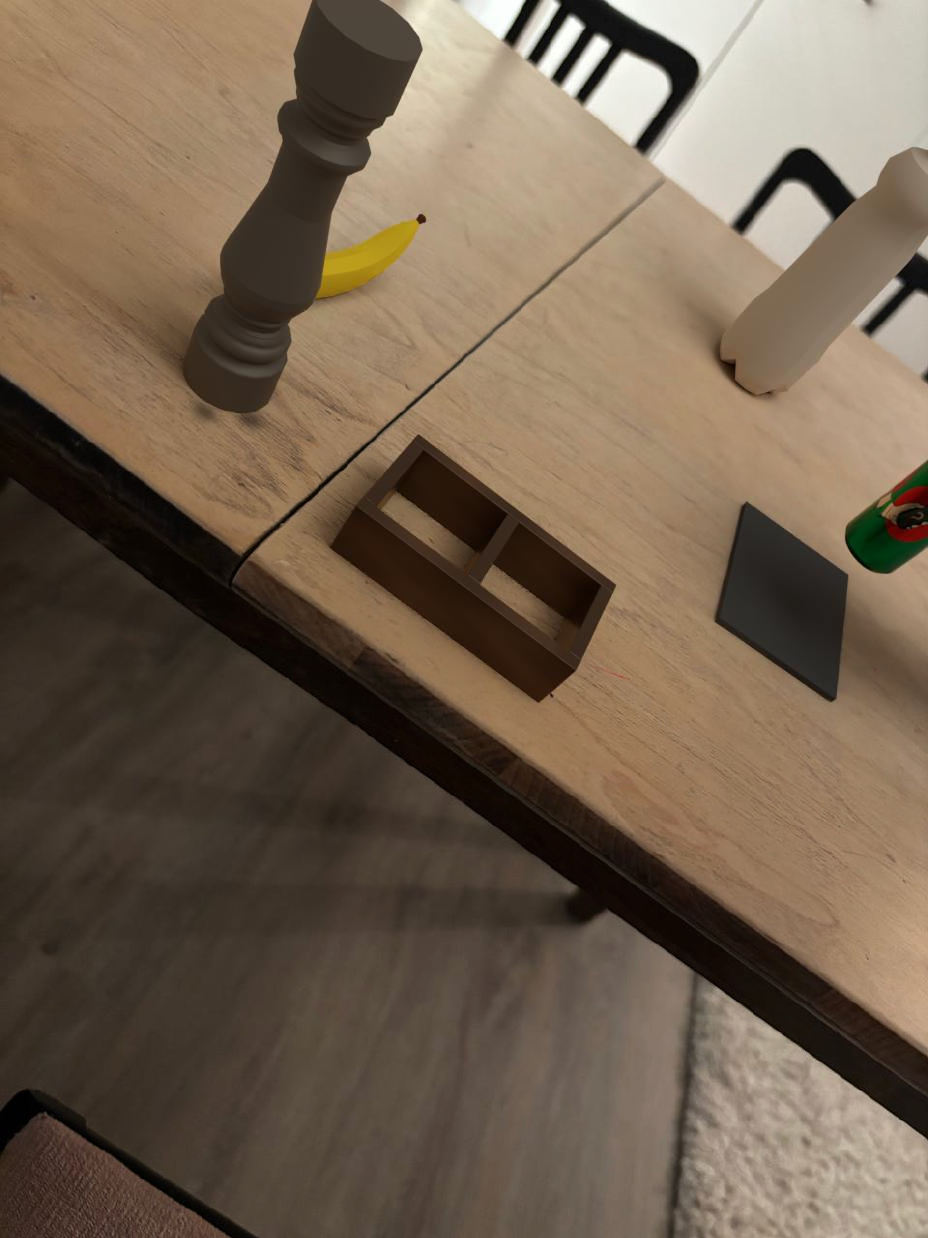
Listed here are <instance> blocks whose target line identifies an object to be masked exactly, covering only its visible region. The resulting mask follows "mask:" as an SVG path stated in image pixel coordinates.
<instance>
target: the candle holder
mask: <svg viewBox="0 0 928 1238" xmlns="http://www.w3.org/2000/svg"><path fill="white" fill-rule="evenodd" d="M423 50H424V48H423V44H422V41H421V38H420V36H419V35H418V33H417V32H416V31H415V29H414V28H413V26H412V25H411V24H410V23H409V22H408V20H406V19H405V18H404V17H403V16H402V15H401V14H400V13H399V12H398V11H396V10H395V9H394V8H393V7H391V6H390V5H388V4H387V3H385V2H384V1H382V0H311V2H310V6H309V8H308V11H307V14H306V17H305V20H304V23H303V25H302V29H301V31H300V34H299V36H298V40H297V43H296V45H295V49H294V52H293V60H294V65H295V66H294V69H293V77H294V82H295V83H294V84H295V96H296V98H293V99H290V100H286V101H284V102H283V103H282V105H281V107H280V108H279V110H278V112H277V116H276V121H277V128H278V132H279V134H280V136H281V140H282V142H281V145H280V147H279V150H278V153H277V156H276V158H275V161H274V164H273V166H272V169H271V172H270V175H269V177H268V180H267V182H266V184H265V185H264V187H263V188H262V189H261V191H260V192H259V194H258V195H257V197H256V198H255V200H254V201H253V202H252V204H251V205H250V206H249V208H248V209H247V211H246V212H245V213H244V215H243V217H242V218H241V219H240V221H239V222H238V224H237V225H236V226H235V228H234V229H233V230H232V232H231V233H230V234H229V236H228V237H227V239H226V241H225V243H224V244H223V246H222V248H221V251H220V254H219V269H220V277H221V281H222V285H223V293H221V294H219V295H217V296H214V297H213V298H211V299H210V300H209V303H208V304H207V306H206V307H205V309H204V312H203V314H201V316H200V317H199V319H198V320H197V322H196V324H195V326H194V328H193V331H192V334H191V336H190V340H189V343H188V346H187V349H186V352H185V354H184V358H183V360H182V368H183V376H184V378H185V380H186V381H187V383H188V385H189V387H190V389H191V390H192V391H193V392H194V393H195V394H197V396H198V397H200V398H201V399H202V400H203V401H204V402H206V403H207V404H211V405H212V406H215V407H216V408H219V409H220V410H223V411H227V412H234V413H238V414H245V413H253V412H257V411H259V410H260V409H262V408H264V407H266V406H267V405H269V402H270V400H271V398H272V396H273V393H274V392H275V389H276V387H277V385H278V382H279V380H280V378H281V376H282V374H283V372H284V370H285V368H286V365H287V363H288V360H289V357H288V351H289V349H290V347H291V345H292V343H293V341H292V333H291V327H290V326H289V324H290V322H291V320H292V319H294V318H296V317H298V316H299V315H302V314H303V313H304V312H306V311H308V310H309V308H310V307H312V305H313V304H314V302H315V300H316V299H317V298H316V295H317V293H318V291H319V289H320V287H321V281H322V274H323V267H324V260H325V254H326V253H327V247H328V241H329V235H330V234H329V233H330V227H331V221H332V215H333V211H334V209H335V207H336V204H337V202H338V200H339V197H340V195H341V193H342V190H343V188H344V186H345V183H346V182H347V179H348V177H349V176H352V175H354V174H355V173H359V172H362V171H363V170H364V169H365V168H366V166H367V164H368V163H369V160H370V158H371V156H372V150H371V145H370V141H369V139H368V137H370V136H371V134H372V133H373V132H374V131H375V130H377V129H379V128H381V127H383V126H384V124H385V122H386V120H387V118H389V117H392V116H394V114H395V112H396V110H397V108H398V106H399V104H400V102H401V100H402V97H403V95H404V94H405V91H406V88H407V86H408V84H409V82H410V80H411V77H412V75H413V73H414V71H415V68H416V66H417V64H418V62H419V59H420V57H421V55H422V53H423Z"/></svg>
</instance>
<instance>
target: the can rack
mask: <svg viewBox="0 0 928 1238" xmlns="http://www.w3.org/2000/svg"><path fill="white" fill-rule="evenodd" d="M396 492H398V493H400V494H401V495H402V496H404V498H406V499H407V500H409V501H410V502H412V503H413V504H414V505H416V506H417V507H418V508H420V509H421V510H422V511H423V512H425V513H426V514H427V515H429V516H430V517H431V518H433V519H434V520H435V521H437V522H438V523H439V524H440V525H442V526H443V527H445V528H446V529H447V530H449V531H450V532H451V533H453V534H454V535H455V536H457V537H458V538H459V539H461V540H462V541H463V542H465V544H467V545H469V546H470V547H471V548H472V549H474V550H475V553H474V554H473V556H472V557H471V559H470V560H469V562H468V563H467V565H466V566H465V568H464V569H463V571H462V569H460V568H458V567H457V566H456V565H454V563H452V562H451V561H449V560H448V559H447V558H445V556H442V555H441V553H439V552H437V551H436V550H435V549H433V548H432V547H431V546H429V544H426V543H425V542H424V541H422V540H421V539H420V538H418V537H417V536H416V535H414V534H413V533H412V532H411V531H409V530H408V529H407V528H405V527H404V526H403V525H401V524H400V523H399V522H397V521H396V520H395V519H393V518H392V517H391V516H389V515H388V514H387V513H385V512H384V511H383V508H384V507H385V506H386V504H387V503H388V502H389V501H390V500H391V498H392V497H393V496H394V495H395V494H396ZM329 548H331V549H332V550H333V551H335V552H336V553H337V554H338V555H340V556H341V557H342V558H344V559H345V560H346V561H348V562H349V563H350V564H352V565H353V566H354V567H356V568H357V569H359V570H360V571H361V572H362V573H364V574H365V575H366V576H368V577H369V578H371V580H373V581H375V583H377V584H379V585H380V586H382V588H384V589H386V590H387V591H388V592H389V593H390V594H392V595H394V596H395V597H396V598H398V599H399V600H400V601H401V602H403V603H404V604H406V605H407V606H408V607H410V608H411V609H412V610H414V611H415V612H416V613H418V614H419V615H421V617H423V618H425V619H426V620H427V621H429V622H430V623H431V624H432V625H434V626H435V627H436V628H438V629H439V630H441V631H442V632H443V633H444V634H446V635H447V636H449V637H450V638H452V639H453V640H454V641H456V642H457V643H458V644H459V645H461V646H462V647H463V648H465V649H466V650H468V651H469V652H470V653H472V654H473V656H476V657H477V658H478V659H480V660H481V661H483V662H484V663H485V664H486V665H488V666H489V667H490V668H492V669H493V670H494V671H496V672H497V673H499V674H500V675H501V676H502V677H504V678H505V679H507V680H508V681H509V682H511V683H512V684H513V685H515V686H516V687H517V688H518V689H520V690H522V691H523V692H524V693H526V694H527V695H528V696H529V697H531V698H532V699H533V700H535V701H536V702H538V703H541V702H542V701H543V700H544V699H546V698H547V697H548V696H549V695H550V694H552V692H553V691H555V690H556V689H557V688H558V687H560V686H561V685H562V684H563V683H565V682H566V680H568V679H569V678H570V677H571V676H572V675H574V674H575V673H576V672H577V670H578V668H579V666H580V664H581V662H582V660H583V657H584V655H585V653H586V651H587V650H588V647H589V644H590V643H591V640H592V639H593V636H594V634H595V632H596V630H597V627H598V626H599V624H600V621H601V619H602V617H603V615H604V612H605V611H606V609H607V606H608V604H609V602H610V600H611V598H612V596H613V594H614V592H615V589H616V587H617V584H616V583H615V582H614V581H612V580H611V579H609V578H608V577H607V576H605V575H604V574H603V573H602V572H600V571H599V570H598V569H596V568H595V567H594V566H592V565H591V564H590V563H588V561H587V560H585V559H583V558H582V557H581V556H580V555H578V554H577V553H576V552H574V551H573V550H571V549H570V548H569V547H568V546H567V545H565V544H564V543H562V542H561V541H560V540H559V539H557V538H556V537H554V536H553V535H552V534H551V533H550V532H548V531H547V530H545V528H543V527H542V526H540V525H539V524H537V523H536V522H535V521H534V520H532V519H531V518H529V516H527V515H526V514H525V513H524V512H522V511H520V510H519V509H518V508H517V507H515V506H514V505H513V504H512V503H510V502H509V501H508V500H506V499H505V498H503V497H502V496H500V494H498V493H497V492H496V491H494V490H493V489H492V488H491V487H489V486H488V485H486V484H485V483H484V482H482V480H480V479H478V477H476V476H475V475H473V474H472V473H471V472H470V471H468V470H467V469H465V468H464V467H463V466H462V465H460V464H459V463H458V462H456V461H455V460H454V459H452V458H451V457H450V456H448V455H447V454H446V453H444V451H442V450H441V449H439V448H438V447H437V446H436V445H434V444H433V443H431V442H430V441H428V439H426V438H425V437H423V435H421V434H419V433H417V435H416V436H415V437H414V438H413V439H412V440H411V442H410V443H409V444H408V445H407V446H406V447H405V448H404V449H403V451H402V452H401V453H400V454H399V455H398V456H397V458H395V460H394V461H393V462H392V463H391V464H390V465H389V467H388V468H387V469H386V470H385V471H384V472H383V473H382V474H381V476H380V477H379V478H378V479H377V480H376V482H375V483H374V484H372V486H371V487H370V488H369V489H368V490H367V492H366V493H365V494H364V495H363V496H362V498H361V499H360V500H359V501H358V502H357V504H356V505H355V506H354V507H353V509H352V510H351V512H350V514H349V516H348V517H347V519H346V520H345V522H344V523H343V525H342V527H341V529H340V530H339V531H338V533H337V534H336V537H334V539H333V541H332V543H331V545H330V546H329ZM493 565H495V566H497V568H499V569H500V570H502V571H503V572H504V573H506V574H507V575H508V576H510V577H511V578H512V579H513V580H515V581H516V582H518V584H520V585H521V586H523V587H524V588H525V589H527V590H528V591H529V592H531V593H532V594H534V596H536V597H537V598H538V599H540V600H542V601H543V602H544V603H545V604H546V605H548V606H549V607H551V608H552V609H553V610H554V611H556V612H557V613H558V614H560V615H561V616H562V617H564V618H565V620H564V621H563V624H562V625H561V628H560V630H559V632H558V634H557V635H556V637H555V639H553V638H551V636H549V635H548V634H546V633H545V632H544V631H543V630H541V629H540V628H539V627H537V626H536V625H534V624H533V623H532V622H530V620H528V619H527V618H525V617H524V616H522V615H521V614H520V613H519V612H517V611H516V610H515V609H513V608H512V607H510V606H509V605H508V604H506V603H505V602H504V601H502V600H501V599H500V598H498V597H497V596H496V595H495V594H493V593H492V592H491V591H489V590H487V588H485V587H484V586H483V585H481V583H482V582H483V580H484V579H485V577H486V576H487V574H488V573H489V571H490V570H491V568H492V567H493Z"/></svg>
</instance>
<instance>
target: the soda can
mask: <svg viewBox="0 0 928 1238" xmlns="http://www.w3.org/2000/svg"><path fill="white" fill-rule="evenodd" d="M844 542H845V545H846V547H847V550H848V551H849V553H850V554H851V556H852V557H853V558H854V559H855V561H856V562H857V563H858V564H859V565H861V566H862V567H863V568H864V569H865V570H868V571H869V572H872V573H874V574H880V575H890V574H893V573H894V572H896V571H897V570H898V569H900V568H901V567H903V566H904V565H906V564H907V563H908V562H910V561H912V560H913V559H914V558H915V557H917V556H918V555H919V554H921V553H922V552H924V551H925V550H927V549H928V459H926V460H925V461H923V463H921V464H920V465H919V466H917V467H916V468H915V469H914V470H912V471H911V472H910V473H908V474H907V475H905V477H903V478H902V479H901V480H900V481H898V482H897V483H896V484H894V485H893V486H892V487H891V488H890V489H888V490H887V491H886V492H885V493H883V495H881V496H880V497H879V498H877V499H876V500H875V501H873V502H872V503H871V504H870V505H868V506H867V507H866V508H865V509H863V510H862V511H861V512H859V513H858V514H857V515H856V516H855V517H853V518H852V519H851V520H850V521H848V523H847V524H846V526H845V530H844Z"/></svg>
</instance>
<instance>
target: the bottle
mask: <svg viewBox="0 0 928 1238" xmlns="http://www.w3.org/2000/svg"><path fill="white" fill-rule="evenodd" d="M927 237H928V149H926V148H922V147H919V146H911V147H909V148H907V149H905V150H903V151H901V152H898V153H897V154H895V155H893V156H890V157H889V158H888V160H887V161H886V163H885V165H884V166H883V167H882V169H881V170H880V172H879V175H878V177H877V180H876V183H875V185H874V186H873V187H872V188H870V189H869V190H868V191H866V192H865V193H864V194H863V195H861V196H859V198H857V199H856V200H854V201H853V202H852V203H851V204H849V206H848V207H847V208H846V209H845V210H844V211H843V212H842V213H841V214H840V215H839V216H838V217H837V218H836V219H835V220H834V221H833V222H832V223H831V224H830V225H829V226H828V227H827V228H826V229H825V230H824V231H823V232H822V233H821V234H820V235H819V236H818V237H817V238H816V239H815V240H814V241H813V242H812V243H811V244H810V246H808V247H807V248H806V249H805V250H804V251H803V252H802V253H801V255H799V256H798V257H797V258H796V259H795V261H793V262H792V263H791V264H790V265H789V266H788V268H786V270H785V271H783V273H782V274H781V275H779V276H778V278H777V279H775V280H774V281H773V283H772V284H771V285H769V287H768V288H766V289H765V290H764V291H762V292H761V293H759V294H758V295H756V297H754V299H753V300H751V302H749V304H748V305H747V306H746V307H745V308H744V309H743V311H742V312H741V313H740V314H739V315H738V316H737V317H736V318H735V320H734V321H733V322H732V323H731V324H730V325H729V326H728V327H727V328H726V329H725V331H724V333H723V334H722V336H721V340H720V346H719V357H720V360H721V361H723V362H725V363H728V364H731V365H733V364H735V373H734V377H735V378H734V381H735V382H736V383H738V384H739V385H740V386H741V387H742V388H744V389H745V390H746V391H748V392H750V393H751V394H753V395H754V396H759V395H762V394H764V393H768V392H769V393H770V394H771V395H774V394H780V393H784V392H789V390H791V389H792V387H793V386H794V385H795V384H796V383H797V382H799V381H800V380H801V378H803V377H804V376H805V375H806V374H807V373H808V372H809V371H810V370H811V369H812V368H814V366H815V365H817V364H818V363H819V362H820V360H821V359H822V357H823V356H824V355H825V353H826V352H827V350H828V349H829V347H830V346H832V344H833V343H834V342H835V341H836V340H837V339H838V338H839V337H840V335H842V333H843V332H845V330H846V329H847V328H848V327H849V326H850V325H851V324H852V323H853V322H854V321H855V320H856V318H857V317H858V316H860V314H861V313H862V312H863V311H864V310H865V309H866V308H867V307H868V306H869V305H870V304H871V303H872V302H873V300H874V299H876V298H877V296H878V295H879V294H880V293H881V292H882V291H883V290H884V289H885V288H886V287H887V286H888V285H889V283H891V282H892V281H893V279H895V277H896V276H897V275H898V274H899V273H900V272H901V271H902V270H903V269H904V267H905V266H907V264H908V263H909V262H910V261H911V260H912V258H913V257H914V256H915V254H916V253H917V252H918V250H919V249H920V248H921V246H922V245H923V243H924V242H925V240H926V239H927Z"/></svg>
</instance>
